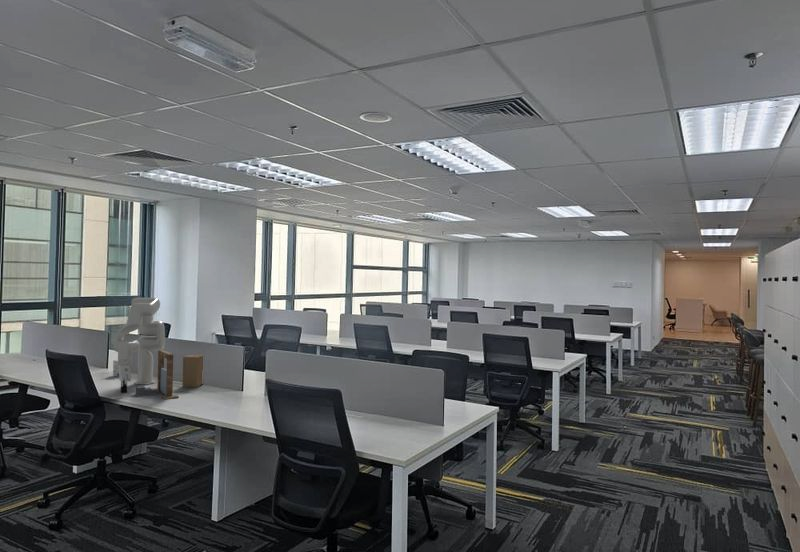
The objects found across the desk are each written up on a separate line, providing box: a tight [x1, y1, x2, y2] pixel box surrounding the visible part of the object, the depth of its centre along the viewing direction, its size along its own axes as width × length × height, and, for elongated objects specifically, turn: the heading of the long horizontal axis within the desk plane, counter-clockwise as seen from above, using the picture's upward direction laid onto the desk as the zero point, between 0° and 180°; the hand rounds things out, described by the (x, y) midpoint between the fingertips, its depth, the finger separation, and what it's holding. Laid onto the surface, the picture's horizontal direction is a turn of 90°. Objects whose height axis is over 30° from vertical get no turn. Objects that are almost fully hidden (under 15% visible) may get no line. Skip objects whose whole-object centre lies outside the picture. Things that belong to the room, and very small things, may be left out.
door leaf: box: [159, 367, 167, 395], centre depth 334 cm, size 18×2×15 cm, turn 38°
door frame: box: [151, 349, 180, 400], centre depth 334 cm, size 31×8×26 cm, turn 38°
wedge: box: [135, 385, 160, 397], centre depth 332 cm, size 6×12×5 cm, turn 128°
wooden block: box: [182, 354, 204, 388], centre depth 360 cm, size 10×10×20 cm
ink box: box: [112, 359, 132, 378], centre depth 389 cm, size 9×8×12 cm
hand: (123, 392), depth 323 cm, fingers closed
